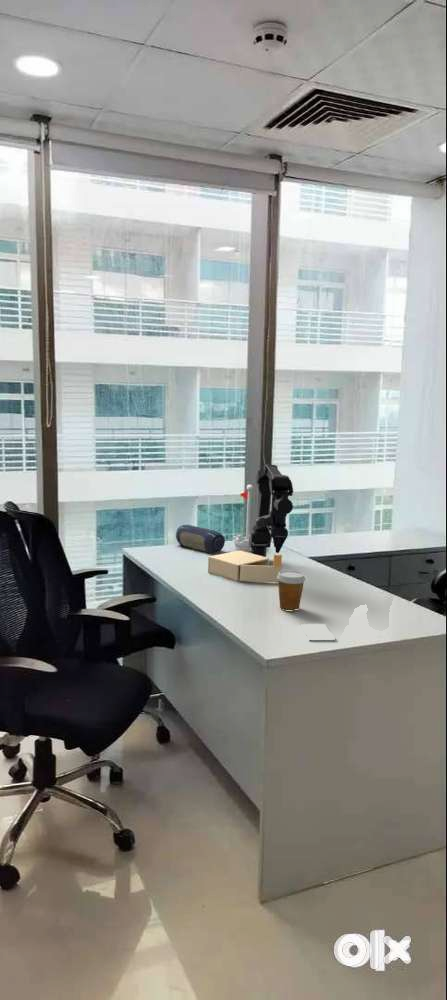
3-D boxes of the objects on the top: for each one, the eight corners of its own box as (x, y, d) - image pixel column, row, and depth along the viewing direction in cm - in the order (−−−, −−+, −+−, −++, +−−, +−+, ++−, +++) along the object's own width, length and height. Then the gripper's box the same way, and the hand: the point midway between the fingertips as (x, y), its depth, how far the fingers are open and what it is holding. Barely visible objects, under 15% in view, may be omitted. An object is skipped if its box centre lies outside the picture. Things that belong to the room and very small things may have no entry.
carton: (239, 565, 273) (240, 550, 272) (268, 574, 261) (269, 558, 260) (208, 572, 260) (208, 556, 259) (237, 581, 249) (237, 565, 248)
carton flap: (280, 582, 250) (282, 554, 248) (280, 582, 249) (282, 555, 247) (239, 580, 249) (241, 553, 248) (239, 581, 248) (241, 553, 247)
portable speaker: (171, 545, 303) (172, 524, 302) (186, 542, 311) (187, 522, 309) (212, 556, 287) (212, 533, 286) (226, 552, 295) (227, 530, 293)
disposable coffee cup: (273, 604, 224) (274, 569, 222) (300, 604, 225) (302, 570, 223) (277, 613, 214) (279, 577, 213) (306, 613, 215) (308, 578, 213)
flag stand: (266, 548, 306) (269, 484, 301) (252, 553, 295) (255, 487, 290) (241, 544, 312) (244, 481, 307) (227, 549, 301) (230, 484, 296)
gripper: (256, 504, 255) (254, 543, 257) (258, 513, 236) (256, 555, 239) (284, 505, 255) (282, 544, 257) (289, 514, 236) (286, 556, 239)
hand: (276, 549), depth 248 cm, fingers open, 9 cm apart
